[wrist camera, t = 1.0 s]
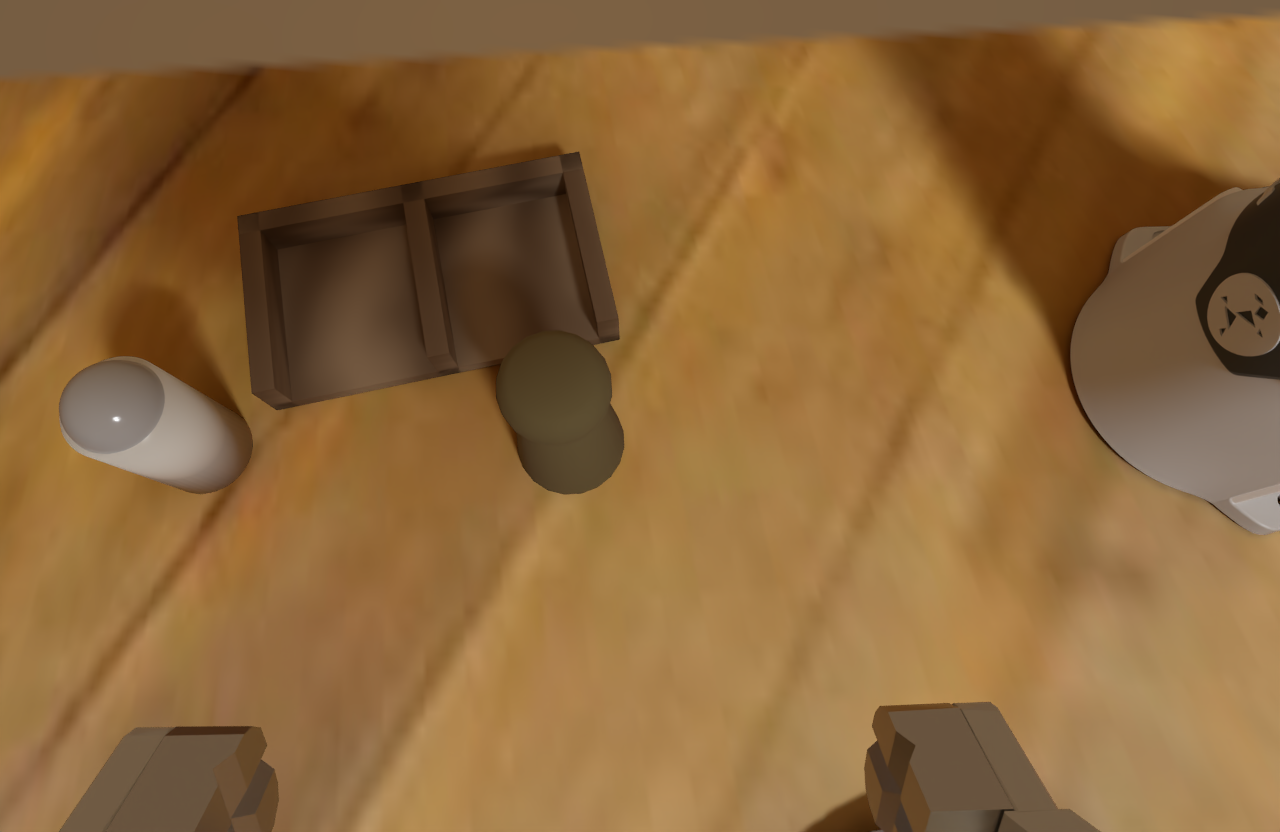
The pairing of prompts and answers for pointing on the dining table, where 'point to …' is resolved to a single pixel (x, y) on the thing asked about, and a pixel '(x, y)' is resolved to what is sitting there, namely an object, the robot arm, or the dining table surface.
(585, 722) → the dining table surface
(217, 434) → the salt cellar
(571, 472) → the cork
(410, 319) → the brown wooden tray
